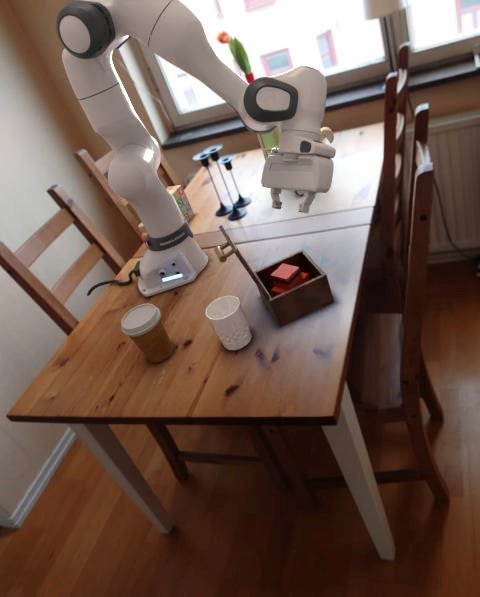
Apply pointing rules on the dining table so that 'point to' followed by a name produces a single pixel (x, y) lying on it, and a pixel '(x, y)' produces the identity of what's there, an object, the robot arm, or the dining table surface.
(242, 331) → the white cup
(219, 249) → the chest lid
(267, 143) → the toy refrigerator
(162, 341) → the disposable coffee cup
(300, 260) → the toy chest
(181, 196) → the printed cardboard box
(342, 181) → the dining table surface
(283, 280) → the red stepped block
